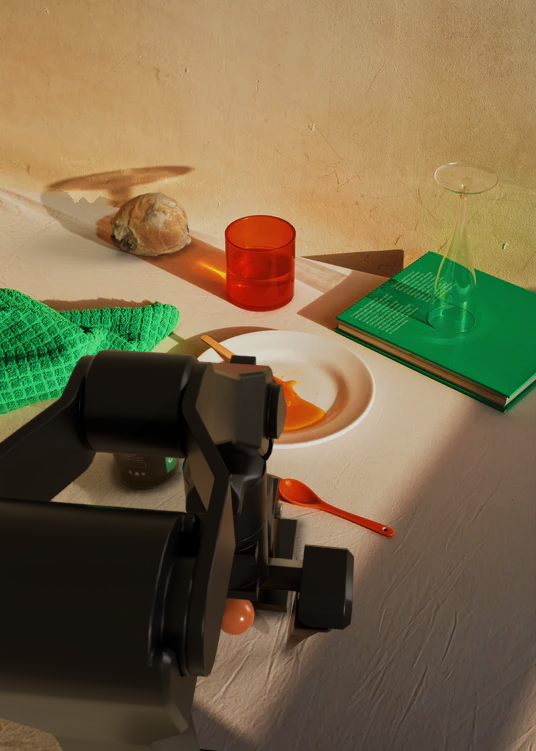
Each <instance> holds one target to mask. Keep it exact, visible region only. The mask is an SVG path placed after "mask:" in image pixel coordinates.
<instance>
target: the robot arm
mask: <svg viewBox="0 0 536 751" xmlns="http://www.w3.org/2000/svg"><path fill="white" fill-rule="evenodd" d="M287 407H288V406H287V401H286V397H285V392H284V388H283V384H282V383H278V382H277V381H276V380H275V378H274V373H273V369H272V368H271V367H270V365H263V364H262V365H261V364H257V356H256V355H239V354H231V356H230V359H229V362H213V361H202V360H201V361H200V360H199V359H198V358H197V357H196V356H195V355H194V353H193V354H192V353H174V352H158V351H143V350H142V351H140V350H126V349H125V350H124V349H107V348H105V349H101V350H99V351H97V353H95V354H86V355H82V356H80V357H79V359H78V361H77V362H76V364H75V365H74V366H73V369H72V371H71V374H70V376H69V377H68V380H67V382H66V384H65V386H64V389H63V391H62V393H61V395H60V396H59V398H58V399H56V400H55V401H54V402H53V403H51V404H49V405H48V406H47V407H46V408H44V409H43V410H42V411H40V412H39V413H37V415H35V416H34V417H33V418H31V419H29V420H28V421H27V422H26V423H25V424H23V425H21V427H19V428H18V429H16V430H15V431H14V432H12V433H11V434H9V435H8V436H7V437H5V439H3V440H1V441H0V719H2V720H6V721H8V722H12V723H16V724H18V725H21V726H22V725H23V726H25V727H29V728H33V729H36V730H39V731H41V732H44V733H45V732H46V733H48V734H50V735H52V736H53V738H54V739H55V741H56V742H57V744H58V745H59V747H60V748H61V750H62V751H218V750H214V749H207V748H200V743H199V740H198V735H197V731H196V727H195V723H194V720H193V715H192V708H193V704H194V698H195V692H196V687H197V681H198V677H201V678H202V677H204V678H208V677H209V676H210V675H211V674H212V671H213V669H214V666H215V662H216V658H217V653H218V648H219V643H220V638H221V637H220V636H221V631H222V630H221V626H222V620H223V615H224V609H225V603H226V598H230V599H240V600H251V601H257V598H258V592H259V588H263V589H274V590H284V591H290V592H295V594H294V598H293V603H292V608H291V612H290V617H289V620H288V626H287V636H286V644H285V646H286V650H293V649H294V648H295V647H297V646H298V645H299V644H301V643H302V642H303V641H305V640H307V639H308V638H311V637H312V636H314V635H316V634H318V633H325V634H327V633H330V632H331V631H332V630H337V631H338V630H339V631H343V630H345V629H346V628H348V627H349V626H350V625H351V624H352V616H353V602H354V577H355V576H354V574H355V573H354V572H355V556H354V554H353V553H352V552H351V551H350V549H349V548H348V547H339V546H329V545H320V544H319V545H318V544H317V545H316V544H307V543H306V544H304V547H303V555H302V559H293V560H290V559H279V558H268V549H269V550H271V549H272V543H273V514H272V502H273V478H274V477H273V476H272V475H270V474H268V472H267V470H268V468H267V461H268V460H269V459H270V457H271V455H272V454H273V449H274V444H275V440H279V439H280V438H281V436H282V434H283V433H284V430H285V424H286V418H287V417H286V416H287ZM97 453H100V454H112V455H113V454H125V455H139V456H153V457H166V458H180V460H183V462H182V465H181V466H182V467H181V470H182V479H183V488H184V495H185V496H184V497H185V504H184V505H185V506H184V510H185V511H179V510H178V511H177V510H166V509H152V508H140V507H127V506H114V505H113V506H112V505H102V504H88V503H79V502H66V501H52V500H54V498H56V497H57V496H58V495H60V493H61V492H63V491H64V490H65V489H66V488H68V487H69V486H70V485H71V484H72V483H74V482H75V481H76V480H77V479H78V478H79V477H81V476H82V475H83V474H84V473H86V472H87V471H88V469H89V468H90V467H91V465H92V464H93V462H94V459H95V457H96V454H97Z"/></svg>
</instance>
